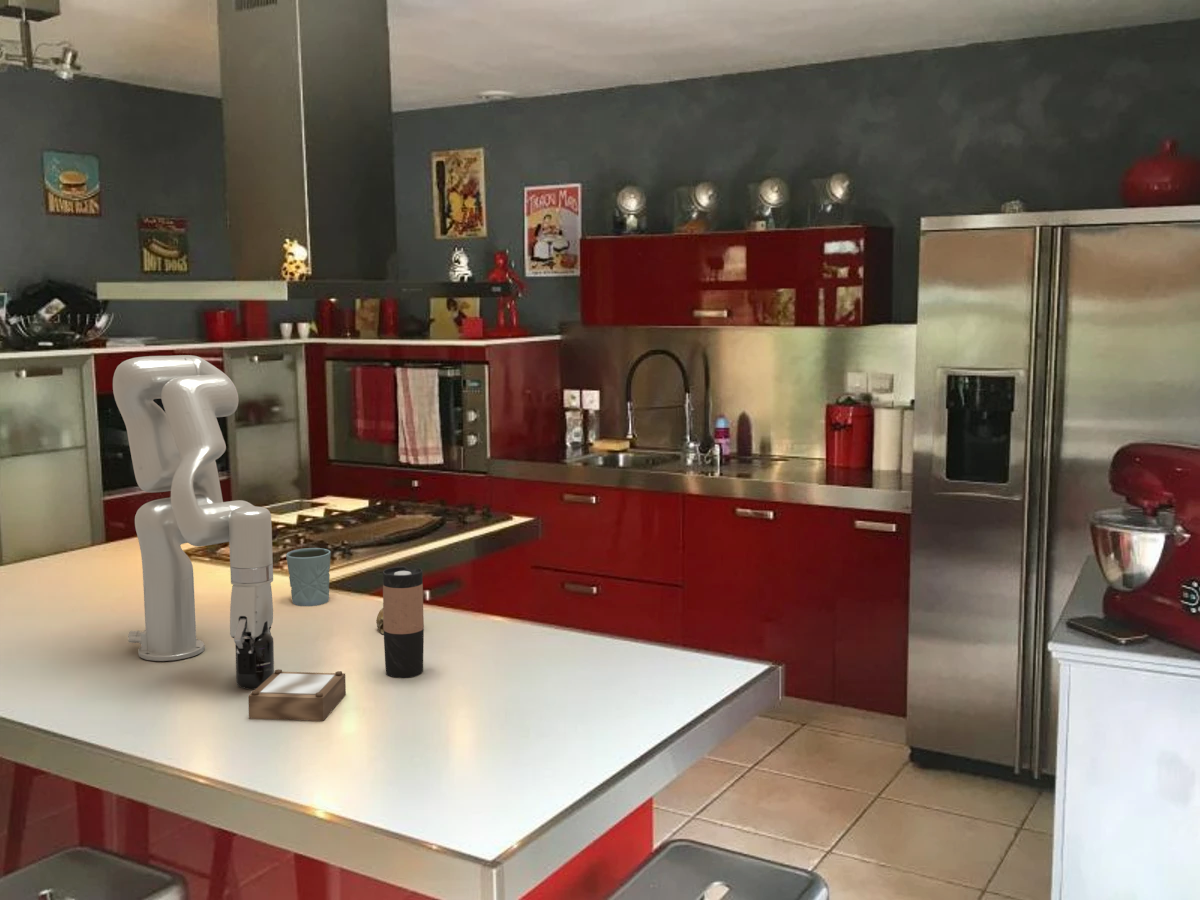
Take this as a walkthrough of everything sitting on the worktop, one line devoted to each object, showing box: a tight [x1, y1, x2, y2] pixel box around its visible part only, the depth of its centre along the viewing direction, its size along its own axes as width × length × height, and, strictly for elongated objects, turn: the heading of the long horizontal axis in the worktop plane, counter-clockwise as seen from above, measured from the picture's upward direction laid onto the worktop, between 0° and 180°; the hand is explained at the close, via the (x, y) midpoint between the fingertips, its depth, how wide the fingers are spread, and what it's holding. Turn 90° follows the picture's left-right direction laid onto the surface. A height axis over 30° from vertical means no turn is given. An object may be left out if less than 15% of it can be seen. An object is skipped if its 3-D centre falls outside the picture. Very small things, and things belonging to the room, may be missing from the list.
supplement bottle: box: [234, 621, 275, 690], centre depth 211 cm, size 7×7×12 cm
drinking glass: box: [285, 547, 331, 607], centre depth 269 cm, size 10×10×12 cm
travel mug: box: [382, 566, 425, 679], centre depth 218 cm, size 8×8×20 cm
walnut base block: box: [247, 669, 347, 722], centre depth 200 cm, size 13×13×4 cm
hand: (255, 666), depth 212 cm, fingers closed on supplement bottle, 6 cm apart
